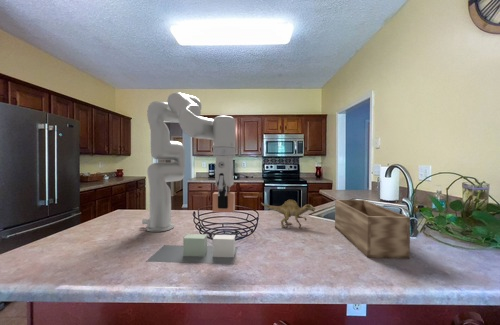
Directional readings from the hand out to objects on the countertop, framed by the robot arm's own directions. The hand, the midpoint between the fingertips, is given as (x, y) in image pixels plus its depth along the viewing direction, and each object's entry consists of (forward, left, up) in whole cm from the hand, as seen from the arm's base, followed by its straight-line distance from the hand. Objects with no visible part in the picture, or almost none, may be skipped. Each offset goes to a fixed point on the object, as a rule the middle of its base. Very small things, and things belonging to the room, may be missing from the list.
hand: (224, 206), depth 73 cm
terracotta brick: (0, 0, -1) cm, 1 cm away
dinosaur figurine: (+26, +37, -18) cm, 48 cm away
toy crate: (+56, +19, -17) cm, 62 cm away
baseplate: (-10, 0, -17) cm, 20 cm away
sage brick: (-10, 0, -17) cm, 19 cm away
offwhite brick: (0, 0, -17) cm, 17 cm away
